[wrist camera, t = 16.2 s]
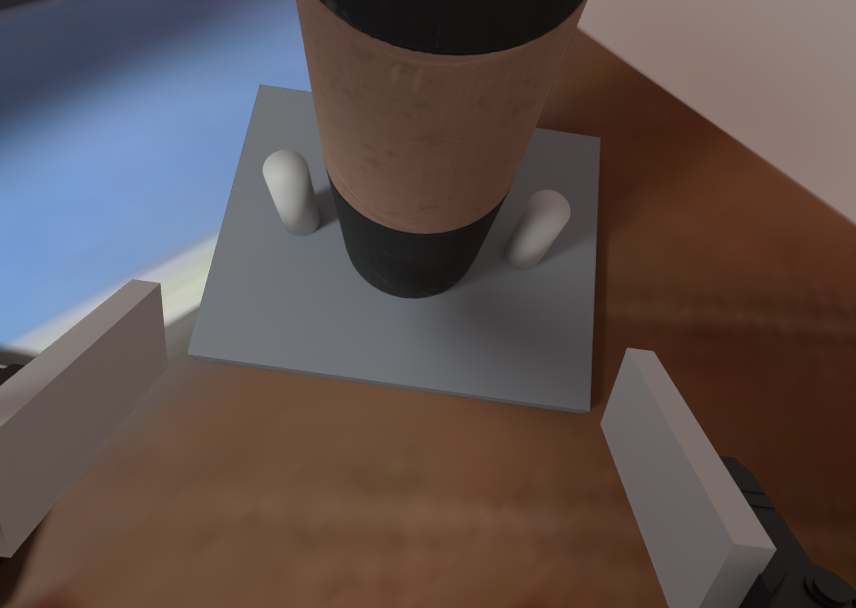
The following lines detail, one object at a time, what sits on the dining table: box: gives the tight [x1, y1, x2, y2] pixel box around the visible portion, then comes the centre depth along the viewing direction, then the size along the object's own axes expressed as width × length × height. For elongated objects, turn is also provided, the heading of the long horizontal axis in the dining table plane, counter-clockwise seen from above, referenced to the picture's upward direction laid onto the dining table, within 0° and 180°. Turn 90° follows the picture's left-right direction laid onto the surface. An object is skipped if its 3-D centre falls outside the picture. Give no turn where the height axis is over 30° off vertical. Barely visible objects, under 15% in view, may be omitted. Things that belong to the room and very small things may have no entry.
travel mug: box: [296, 0, 587, 299], centre depth 20 cm, size 8×8×20 cm
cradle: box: [187, 84, 600, 414], centre depth 28 cm, size 20×16×6 cm
